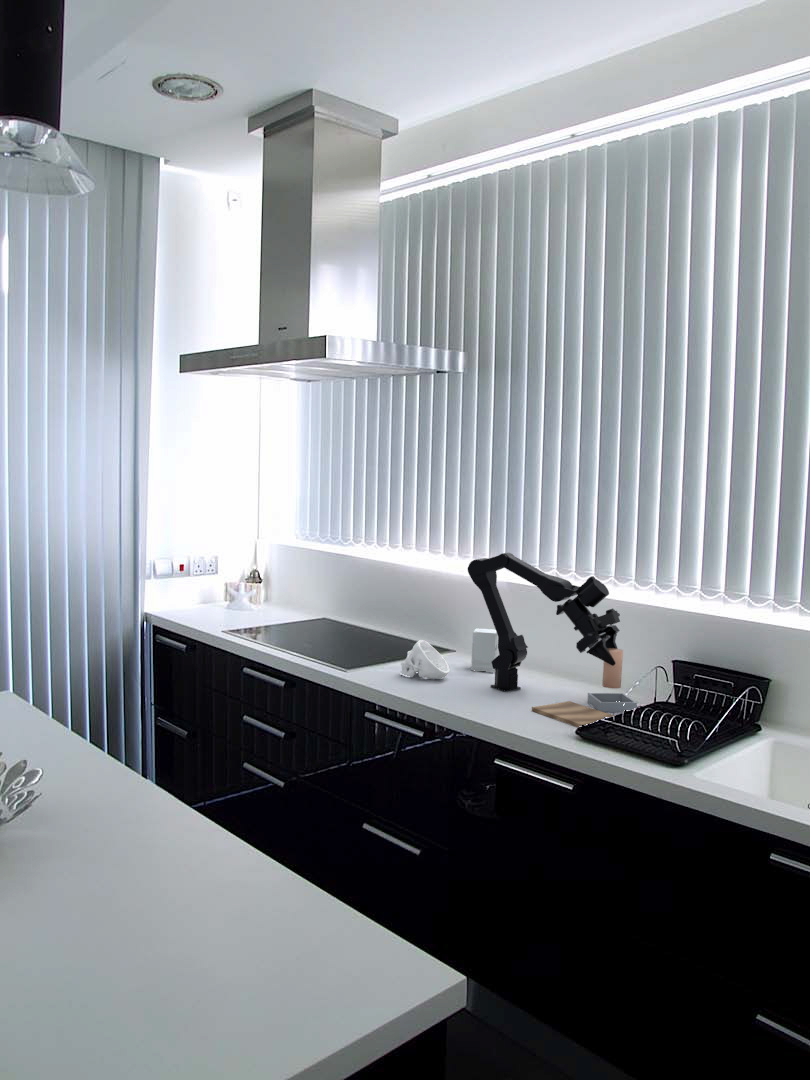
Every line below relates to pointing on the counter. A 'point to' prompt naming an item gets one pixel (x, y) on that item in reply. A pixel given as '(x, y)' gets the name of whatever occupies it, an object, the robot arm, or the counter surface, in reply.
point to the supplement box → (484, 649)
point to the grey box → (611, 702)
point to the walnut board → (571, 713)
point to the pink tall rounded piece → (613, 670)
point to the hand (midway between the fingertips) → (617, 663)
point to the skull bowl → (425, 662)
